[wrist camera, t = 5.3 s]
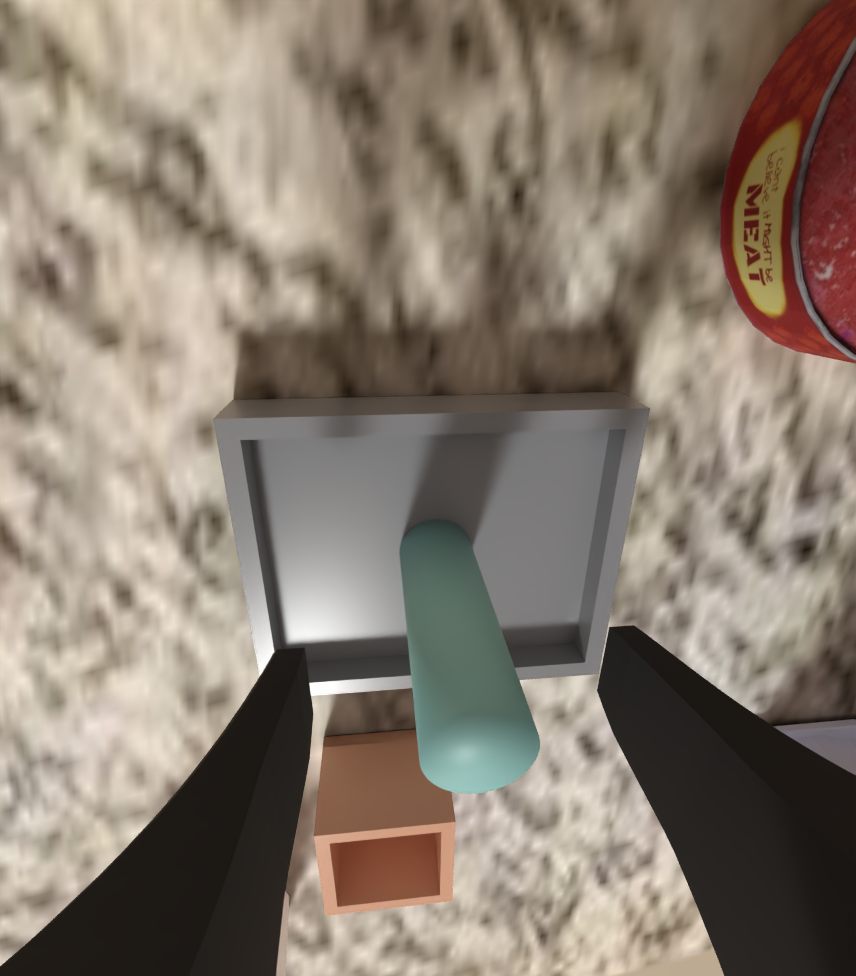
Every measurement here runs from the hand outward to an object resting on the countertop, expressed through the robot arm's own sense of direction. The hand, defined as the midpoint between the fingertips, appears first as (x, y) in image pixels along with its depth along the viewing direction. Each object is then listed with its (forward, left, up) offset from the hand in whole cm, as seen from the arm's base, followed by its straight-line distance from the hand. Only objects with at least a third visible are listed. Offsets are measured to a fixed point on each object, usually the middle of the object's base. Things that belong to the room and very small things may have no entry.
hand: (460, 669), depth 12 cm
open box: (+2, +12, -6) cm, 14 cm away
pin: (0, 0, -5) cm, 5 cm away
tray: (0, 0, -6) cm, 6 cm away
